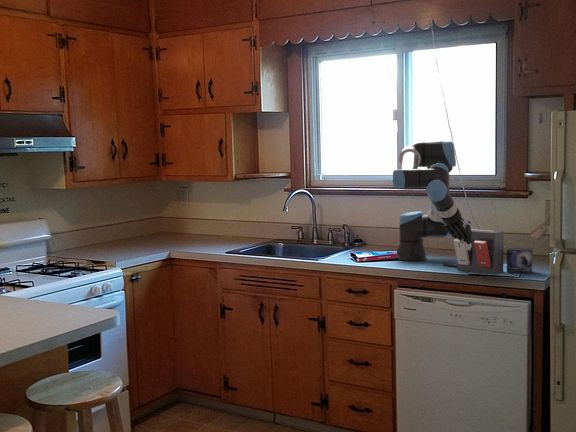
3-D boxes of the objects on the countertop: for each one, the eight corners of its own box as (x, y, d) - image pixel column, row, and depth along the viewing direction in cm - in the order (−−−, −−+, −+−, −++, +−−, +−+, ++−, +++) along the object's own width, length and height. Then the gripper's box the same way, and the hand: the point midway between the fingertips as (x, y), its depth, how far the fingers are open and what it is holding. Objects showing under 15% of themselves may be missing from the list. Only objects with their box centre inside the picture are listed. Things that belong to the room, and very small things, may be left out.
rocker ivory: (458, 263, 291) (453, 240, 287) (460, 262, 293) (454, 238, 288) (468, 265, 288) (463, 241, 284) (470, 263, 289) (465, 239, 285)
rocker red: (478, 266, 285) (473, 242, 280) (480, 264, 286) (475, 240, 281) (489, 267, 281) (484, 243, 277) (491, 265, 282) (486, 241, 278)
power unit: (436, 267, 300) (436, 228, 298) (447, 264, 307) (446, 226, 305) (493, 274, 281) (493, 233, 279) (503, 271, 287) (503, 230, 286)
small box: (506, 272, 284) (506, 249, 283) (506, 270, 290) (507, 247, 289) (532, 274, 281) (532, 250, 279) (532, 271, 287) (532, 247, 286)
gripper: (430, 218, 262) (452, 253, 275) (460, 219, 253) (480, 256, 266) (437, 203, 265) (458, 239, 279) (466, 205, 256) (486, 241, 269)
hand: (469, 247), depth 272 cm, fingers closed
